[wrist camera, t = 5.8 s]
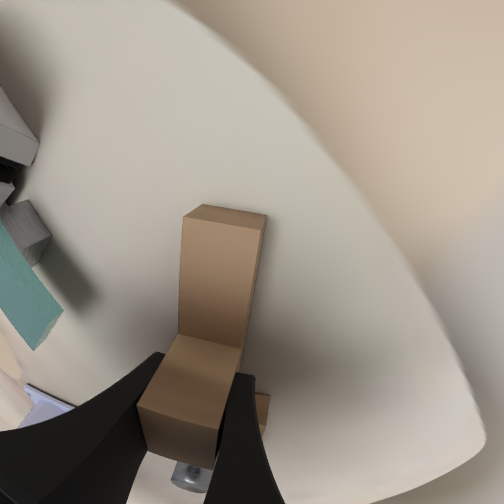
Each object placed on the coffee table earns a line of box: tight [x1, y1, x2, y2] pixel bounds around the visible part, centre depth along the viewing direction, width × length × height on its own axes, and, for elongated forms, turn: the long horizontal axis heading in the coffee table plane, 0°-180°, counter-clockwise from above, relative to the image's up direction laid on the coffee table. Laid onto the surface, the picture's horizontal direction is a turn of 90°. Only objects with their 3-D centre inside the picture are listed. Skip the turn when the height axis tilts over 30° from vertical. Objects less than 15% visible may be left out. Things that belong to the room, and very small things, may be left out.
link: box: [137, 205, 270, 470], centre depth 10 cm, size 14×5×5 cm, turn 171°
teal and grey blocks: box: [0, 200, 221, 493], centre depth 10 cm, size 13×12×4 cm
